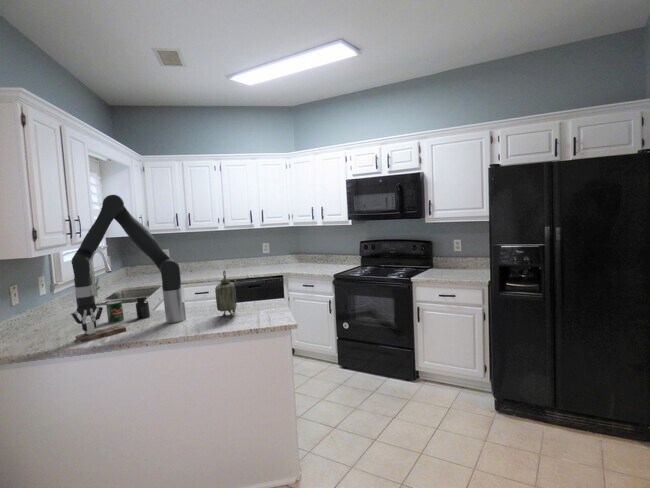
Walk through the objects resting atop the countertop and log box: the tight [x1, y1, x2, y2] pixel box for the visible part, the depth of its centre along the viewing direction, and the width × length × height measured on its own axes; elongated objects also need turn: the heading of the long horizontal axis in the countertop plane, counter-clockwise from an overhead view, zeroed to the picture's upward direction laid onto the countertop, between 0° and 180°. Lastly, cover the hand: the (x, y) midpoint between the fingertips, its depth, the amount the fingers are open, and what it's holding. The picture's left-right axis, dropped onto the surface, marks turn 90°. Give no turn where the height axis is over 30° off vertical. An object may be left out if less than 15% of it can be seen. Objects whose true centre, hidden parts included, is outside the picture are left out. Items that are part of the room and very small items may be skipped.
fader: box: [83, 320, 96, 336], centre depth 187 cm, size 3×7×6 cm, turn 48°
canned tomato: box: [105, 300, 125, 324], centre depth 217 cm, size 8×8×11 cm
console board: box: [74, 324, 127, 344], centre depth 191 cm, size 20×9×2 cm, turn 138°
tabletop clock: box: [214, 269, 238, 319], centre depth 209 cm, size 14×9×25 cm, turn 9°
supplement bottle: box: [135, 295, 151, 320], centre depth 221 cm, size 7×7×12 cm
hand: (89, 329), depth 187 cm, fingers closed on fader, 3 cm apart
